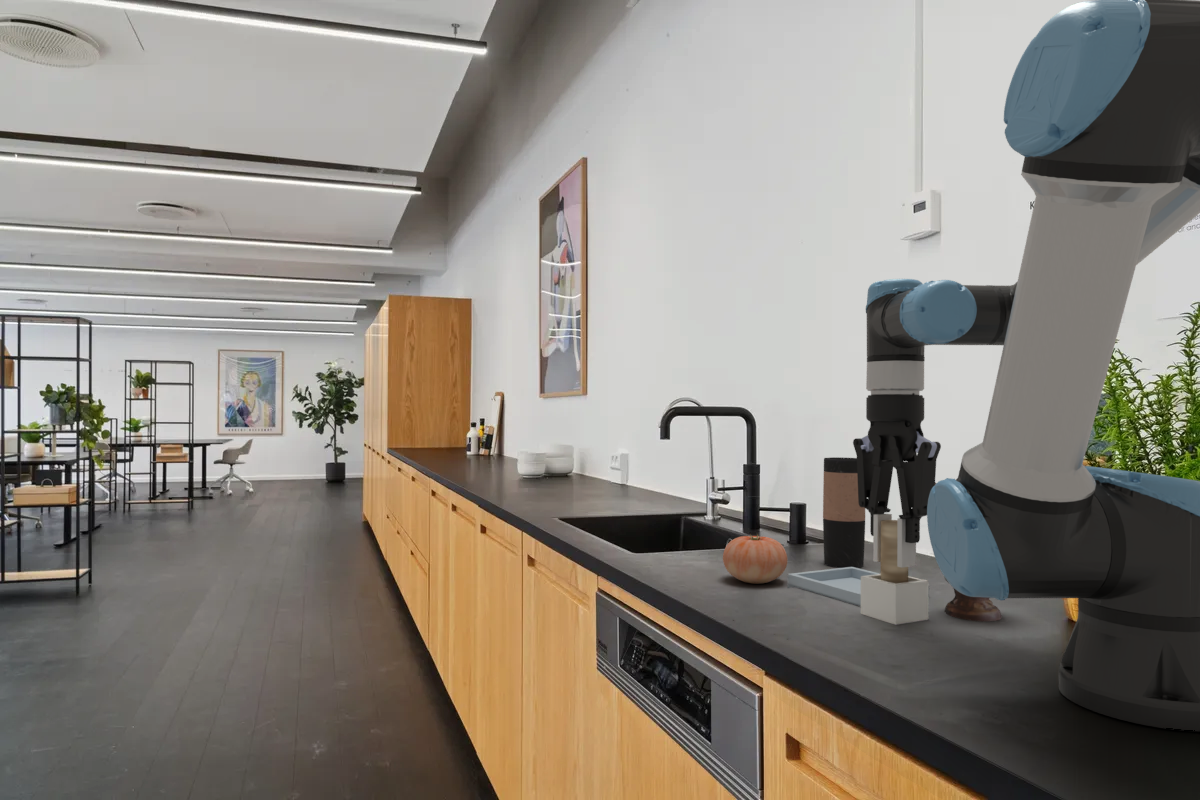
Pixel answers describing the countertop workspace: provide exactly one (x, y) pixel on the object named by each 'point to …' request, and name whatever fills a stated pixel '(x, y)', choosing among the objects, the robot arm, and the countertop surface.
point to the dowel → (891, 554)
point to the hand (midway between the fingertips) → (894, 563)
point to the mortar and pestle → (972, 608)
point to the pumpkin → (755, 559)
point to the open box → (894, 599)
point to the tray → (832, 583)
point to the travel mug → (842, 514)
